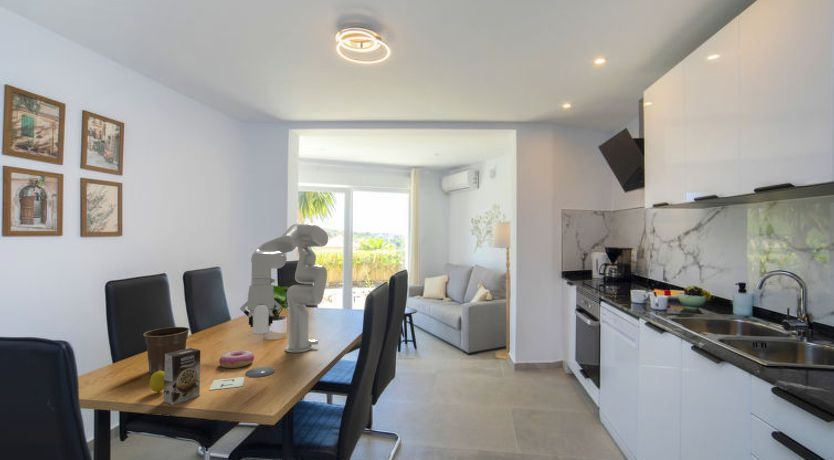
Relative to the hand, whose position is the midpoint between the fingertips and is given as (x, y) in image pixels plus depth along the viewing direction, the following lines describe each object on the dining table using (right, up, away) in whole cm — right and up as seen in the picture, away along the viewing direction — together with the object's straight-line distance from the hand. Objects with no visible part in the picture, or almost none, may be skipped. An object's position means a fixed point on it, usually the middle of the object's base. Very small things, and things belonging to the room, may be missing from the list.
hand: (260, 325), depth 160 cm
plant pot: (-40, -19, +2) cm, 44 cm away
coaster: (0, -19, 0) cm, 19 cm away
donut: (-14, -20, +10) cm, 26 cm away
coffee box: (-17, -19, -26) cm, 36 cm away
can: (0, -3, 0) cm, 3 cm away
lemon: (-28, -19, -21) cm, 40 cm away
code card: (-8, -19, -12) cm, 24 cm away
